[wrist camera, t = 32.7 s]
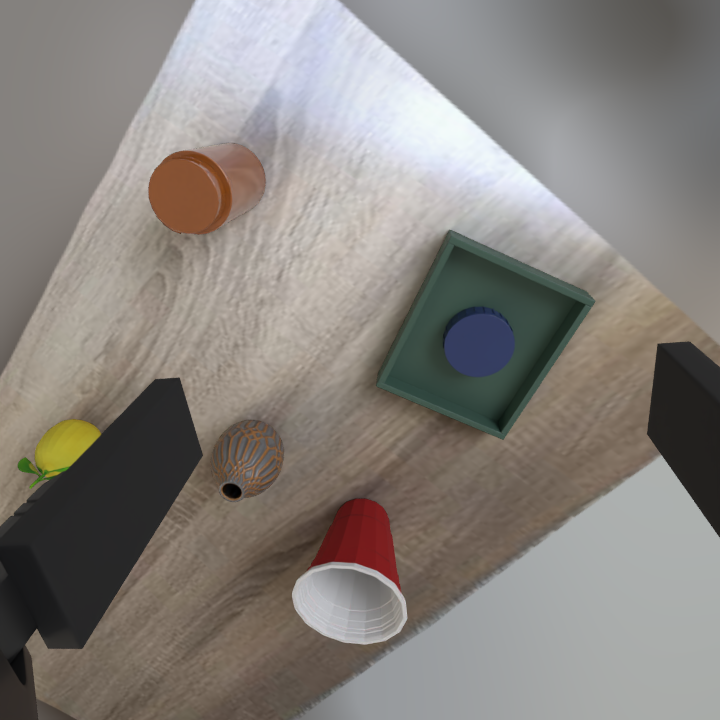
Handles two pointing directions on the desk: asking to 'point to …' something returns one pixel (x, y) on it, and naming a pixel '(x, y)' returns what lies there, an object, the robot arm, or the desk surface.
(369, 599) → the plastic cup
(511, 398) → the tray
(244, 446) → the vase
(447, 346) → the jar lid
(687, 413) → the robot arm
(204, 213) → the jam jar
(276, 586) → the desk surface
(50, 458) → the lemon
